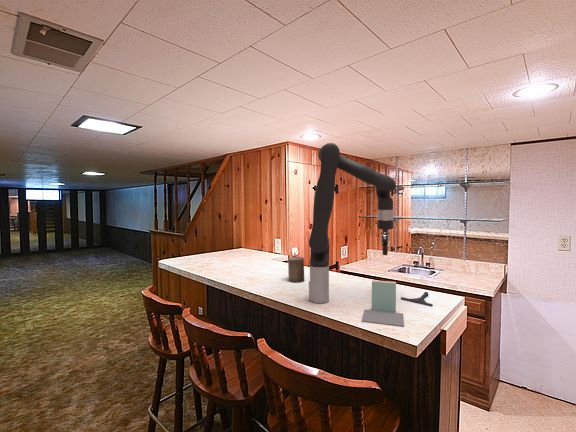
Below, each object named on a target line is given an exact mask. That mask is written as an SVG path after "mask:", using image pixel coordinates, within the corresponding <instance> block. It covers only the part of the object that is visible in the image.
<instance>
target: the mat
mask: <svg viewBox="0 0 576 432" xmlns="http://www.w3.org/2000/svg"><path fill="white" fill-rule="evenodd" d="M361 323H371V324H377V325H378V324H379V325H387V326H392V327H393V326H394V327H401V328H404V327H405V321H404V313H401V312H396V313H393V312H384V311H375V310H372V309H363V314H362V317H361Z"/></svg>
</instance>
